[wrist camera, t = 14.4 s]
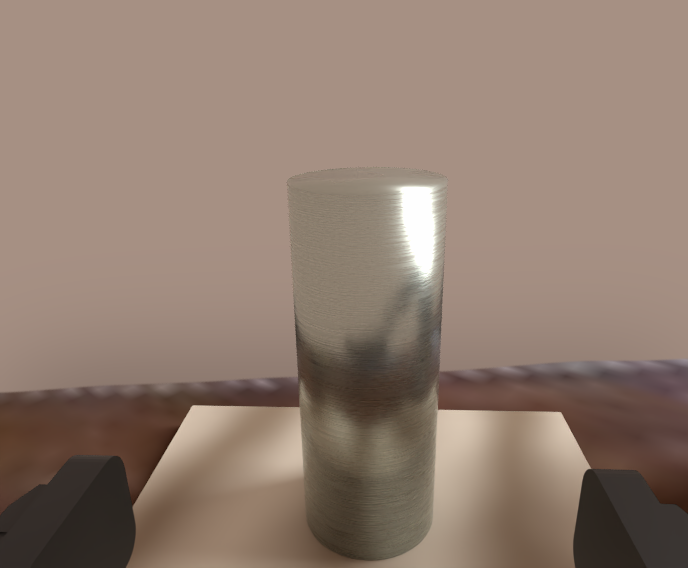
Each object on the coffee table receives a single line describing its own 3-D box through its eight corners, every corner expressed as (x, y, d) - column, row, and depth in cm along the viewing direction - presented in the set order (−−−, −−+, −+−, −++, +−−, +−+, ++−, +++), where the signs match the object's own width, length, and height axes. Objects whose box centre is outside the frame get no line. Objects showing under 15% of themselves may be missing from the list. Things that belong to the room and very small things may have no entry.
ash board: (557, 432, 28) (560, 412, 28) (710, 740, 15) (720, 711, 14) (195, 424, 29) (192, 405, 29) (43, 700, 16) (34, 672, 16)
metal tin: (428, 468, 24) (439, 166, 19) (438, 563, 19) (457, 192, 15) (313, 465, 24) (299, 168, 20) (297, 557, 19) (272, 194, 15)
